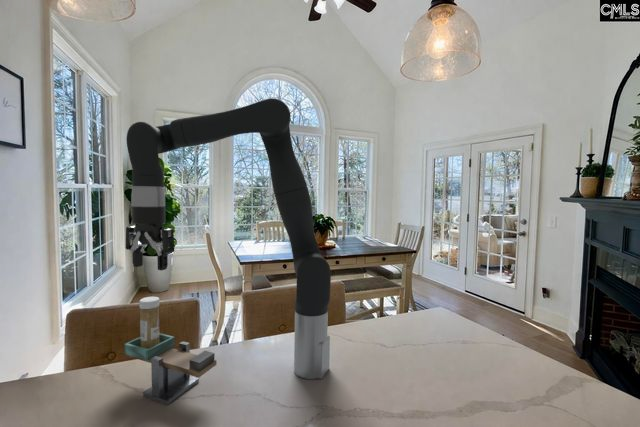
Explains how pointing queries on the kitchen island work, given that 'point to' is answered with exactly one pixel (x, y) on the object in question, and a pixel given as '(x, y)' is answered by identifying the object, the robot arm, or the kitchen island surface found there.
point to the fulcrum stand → (168, 380)
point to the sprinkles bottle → (149, 322)
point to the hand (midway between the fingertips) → (149, 268)
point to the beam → (172, 356)
